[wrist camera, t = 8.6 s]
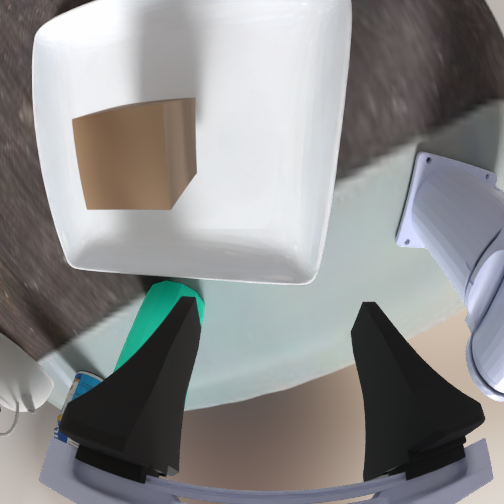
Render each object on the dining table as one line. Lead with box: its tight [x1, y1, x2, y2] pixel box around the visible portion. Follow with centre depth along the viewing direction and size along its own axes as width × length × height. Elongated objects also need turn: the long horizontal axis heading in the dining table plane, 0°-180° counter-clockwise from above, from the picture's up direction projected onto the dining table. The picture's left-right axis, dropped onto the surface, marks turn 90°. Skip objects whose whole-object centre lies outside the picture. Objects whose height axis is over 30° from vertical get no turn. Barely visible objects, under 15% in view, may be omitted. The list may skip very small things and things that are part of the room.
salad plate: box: [32, 0, 352, 285], centre depth 16 cm, size 21×21×3 cm
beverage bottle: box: [54, 371, 103, 449], centre depth 32 cm, size 8×8×20 cm
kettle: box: [0, 333, 54, 437], centre depth 34 cm, size 25×23×23 cm
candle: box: [113, 281, 204, 400], centre depth 21 cm, size 6×6×12 cm
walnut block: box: [72, 97, 197, 210], centre depth 12 cm, size 4×4×5 cm
